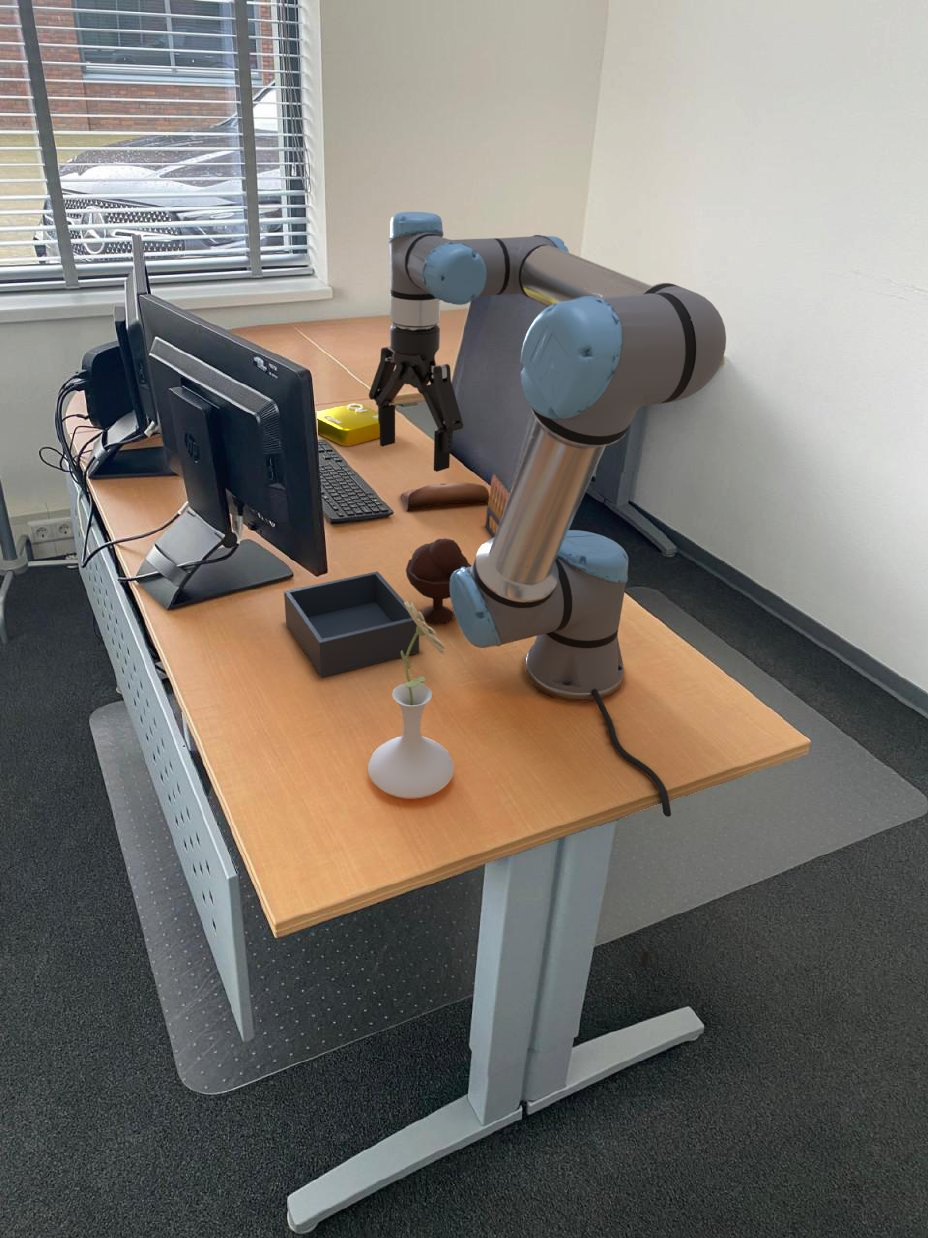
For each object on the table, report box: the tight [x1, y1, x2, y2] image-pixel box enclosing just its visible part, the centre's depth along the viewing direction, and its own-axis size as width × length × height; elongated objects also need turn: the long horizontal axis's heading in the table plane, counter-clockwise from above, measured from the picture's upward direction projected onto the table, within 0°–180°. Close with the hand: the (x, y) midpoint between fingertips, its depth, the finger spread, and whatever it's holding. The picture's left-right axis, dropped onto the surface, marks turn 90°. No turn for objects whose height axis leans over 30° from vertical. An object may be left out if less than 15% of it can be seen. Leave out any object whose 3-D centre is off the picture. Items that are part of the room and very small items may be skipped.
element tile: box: [316, 402, 380, 447], centre depth 226 cm, size 15×15×5 cm
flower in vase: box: [367, 600, 455, 800], centre depth 115 cm, size 13×11×25 cm
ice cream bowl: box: [405, 537, 473, 625], centre depth 152 cm, size 11×11×15 cm
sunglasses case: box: [400, 481, 490, 511], centre depth 194 cm, size 18×7×7 cm
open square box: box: [283, 571, 420, 678], centre depth 147 cm, size 17×17×6 cm
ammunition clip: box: [485, 473, 511, 539], centre depth 178 cm, size 11×2×12 cm, turn 17°
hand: (413, 456), depth 149 cm, fingers open, 13 cm apart
